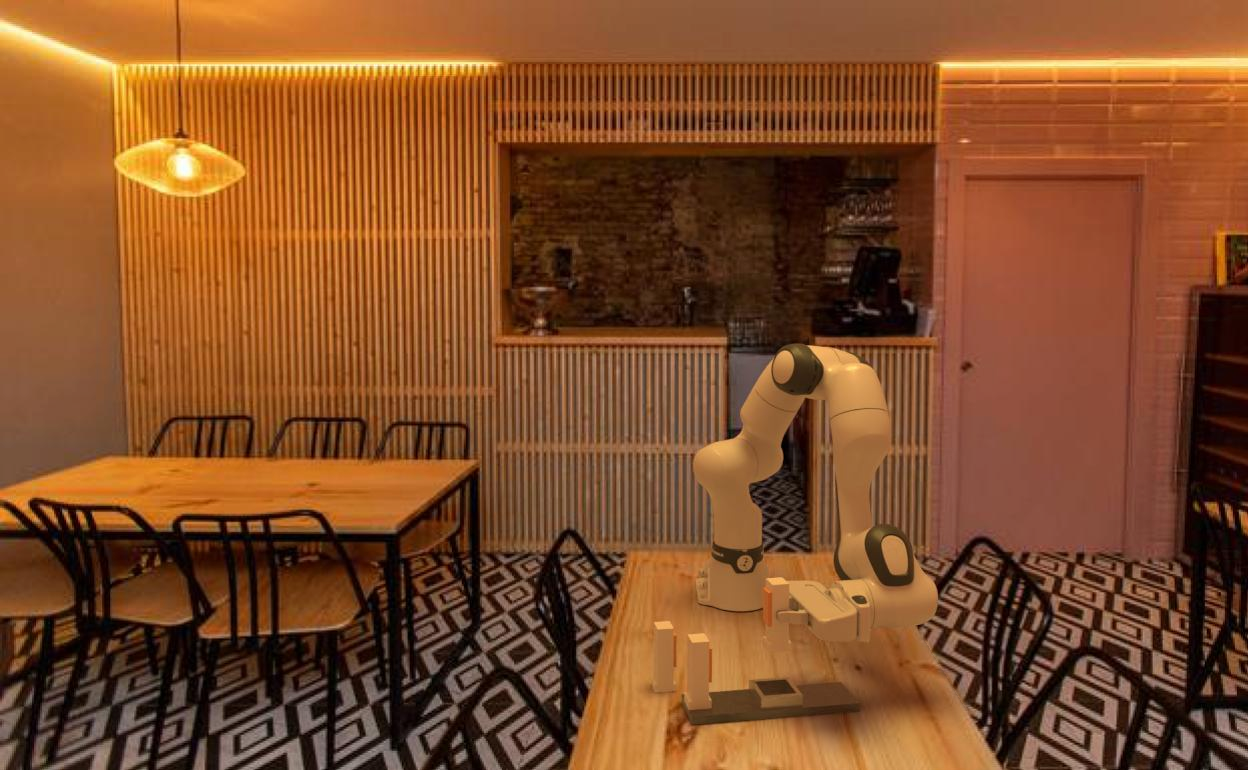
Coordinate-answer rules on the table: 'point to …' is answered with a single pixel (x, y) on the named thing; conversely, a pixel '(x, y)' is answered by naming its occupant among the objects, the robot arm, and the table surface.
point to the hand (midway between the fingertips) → (772, 611)
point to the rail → (774, 701)
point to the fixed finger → (698, 672)
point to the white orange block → (664, 657)
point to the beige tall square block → (773, 601)
